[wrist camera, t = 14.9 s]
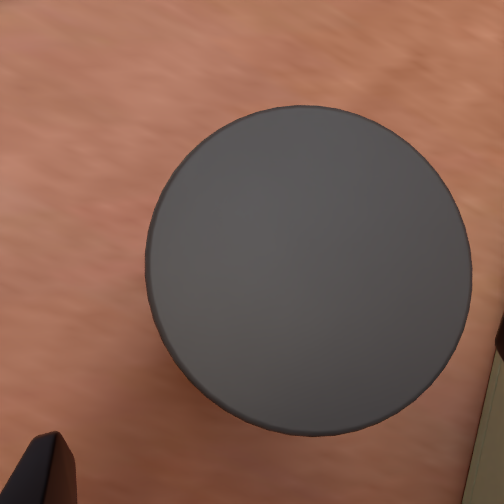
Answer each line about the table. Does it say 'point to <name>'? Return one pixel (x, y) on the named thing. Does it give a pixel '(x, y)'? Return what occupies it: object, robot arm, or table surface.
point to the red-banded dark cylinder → (308, 270)
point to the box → (489, 445)
